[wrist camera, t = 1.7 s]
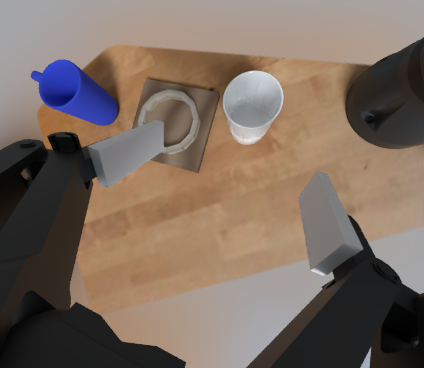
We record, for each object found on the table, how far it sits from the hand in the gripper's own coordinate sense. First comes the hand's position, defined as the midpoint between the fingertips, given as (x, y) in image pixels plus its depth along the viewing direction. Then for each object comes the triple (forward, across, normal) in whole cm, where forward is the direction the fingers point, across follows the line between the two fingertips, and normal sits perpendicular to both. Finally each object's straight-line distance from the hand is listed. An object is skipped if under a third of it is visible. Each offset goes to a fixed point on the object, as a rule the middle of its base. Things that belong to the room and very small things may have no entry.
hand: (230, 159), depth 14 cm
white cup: (+20, -1, -3) cm, 21 cm away
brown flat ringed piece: (+18, -15, -6) cm, 24 cm away
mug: (+17, -33, -8) cm, 38 cm away
